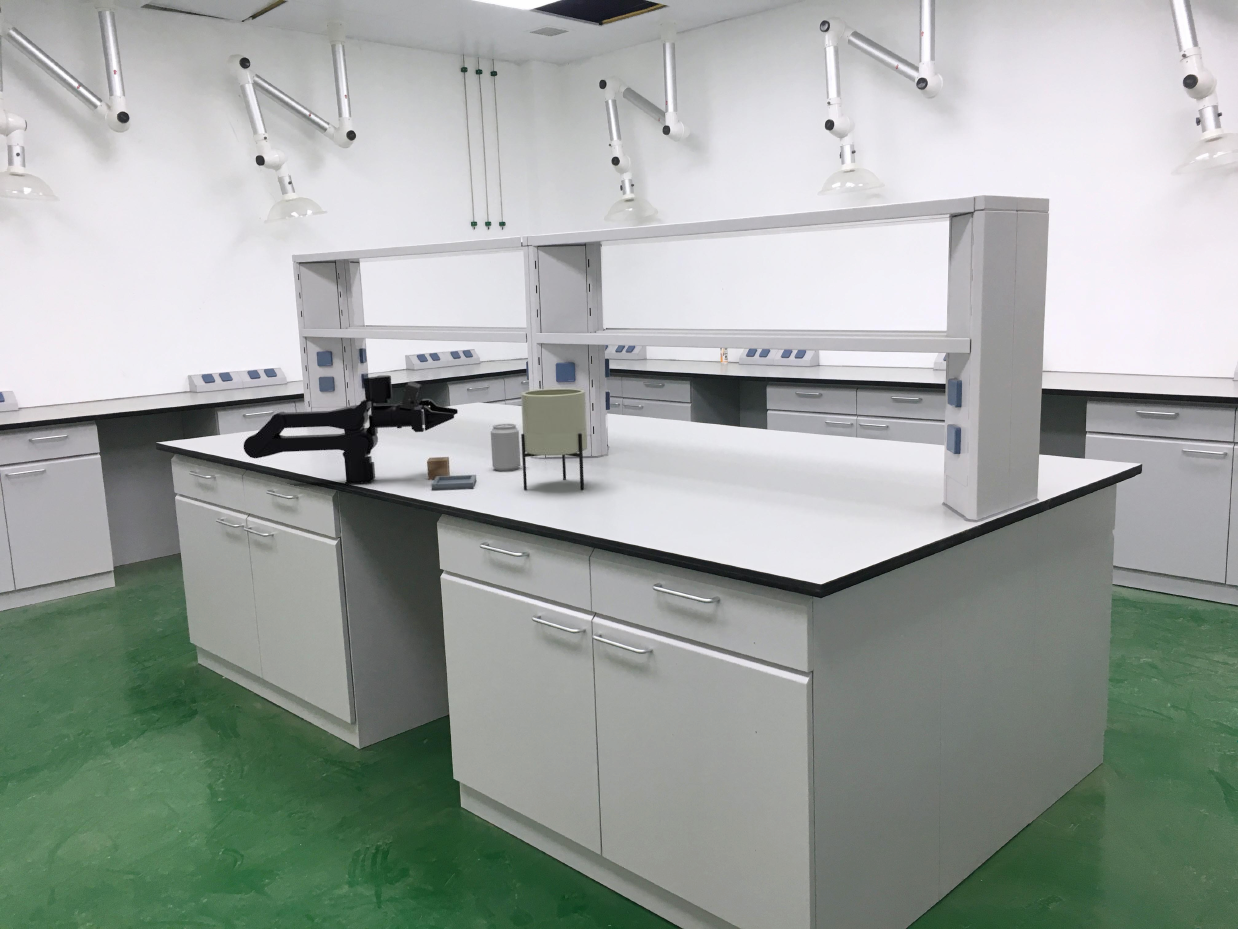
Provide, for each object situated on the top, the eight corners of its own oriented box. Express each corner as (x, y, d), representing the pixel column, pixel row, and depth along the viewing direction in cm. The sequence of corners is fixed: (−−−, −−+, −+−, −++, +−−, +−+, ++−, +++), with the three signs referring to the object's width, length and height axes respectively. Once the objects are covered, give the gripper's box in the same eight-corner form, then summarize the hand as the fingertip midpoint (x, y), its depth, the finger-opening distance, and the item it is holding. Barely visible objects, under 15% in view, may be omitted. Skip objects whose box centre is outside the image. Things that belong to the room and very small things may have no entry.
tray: (431, 490, 236) (431, 484, 236) (436, 482, 246) (436, 476, 245) (473, 488, 237) (472, 482, 236) (476, 480, 246) (476, 474, 246)
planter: (516, 484, 240) (511, 391, 236) (577, 478, 246) (573, 386, 241) (532, 496, 226) (528, 397, 222) (597, 489, 232) (593, 392, 227)
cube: (428, 480, 249) (426, 461, 248) (430, 476, 254) (429, 457, 253) (448, 479, 249) (446, 460, 248) (450, 475, 254) (448, 456, 253)
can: (494, 472, 256) (492, 427, 254) (490, 467, 263) (488, 423, 261) (523, 470, 258) (520, 425, 256) (518, 465, 265) (516, 421, 263)
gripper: (385, 388, 236) (450, 385, 237) (397, 380, 255) (457, 378, 256) (388, 433, 238) (453, 431, 239) (400, 422, 257) (459, 420, 258)
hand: (455, 413), depth 248 cm, fingers open, 9 cm apart
